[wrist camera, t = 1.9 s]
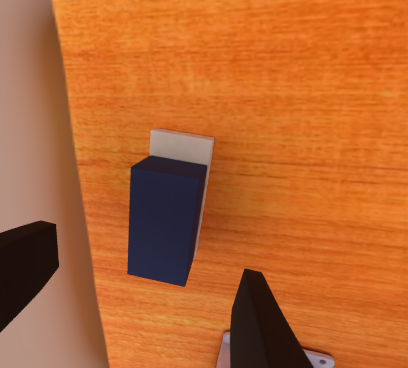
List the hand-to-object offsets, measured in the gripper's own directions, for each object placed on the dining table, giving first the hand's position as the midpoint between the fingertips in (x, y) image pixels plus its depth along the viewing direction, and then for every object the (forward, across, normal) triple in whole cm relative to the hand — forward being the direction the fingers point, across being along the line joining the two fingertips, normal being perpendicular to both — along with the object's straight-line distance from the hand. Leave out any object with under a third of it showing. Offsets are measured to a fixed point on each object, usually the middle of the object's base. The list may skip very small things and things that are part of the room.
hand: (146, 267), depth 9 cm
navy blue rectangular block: (+9, +1, +1) cm, 9 cm away
